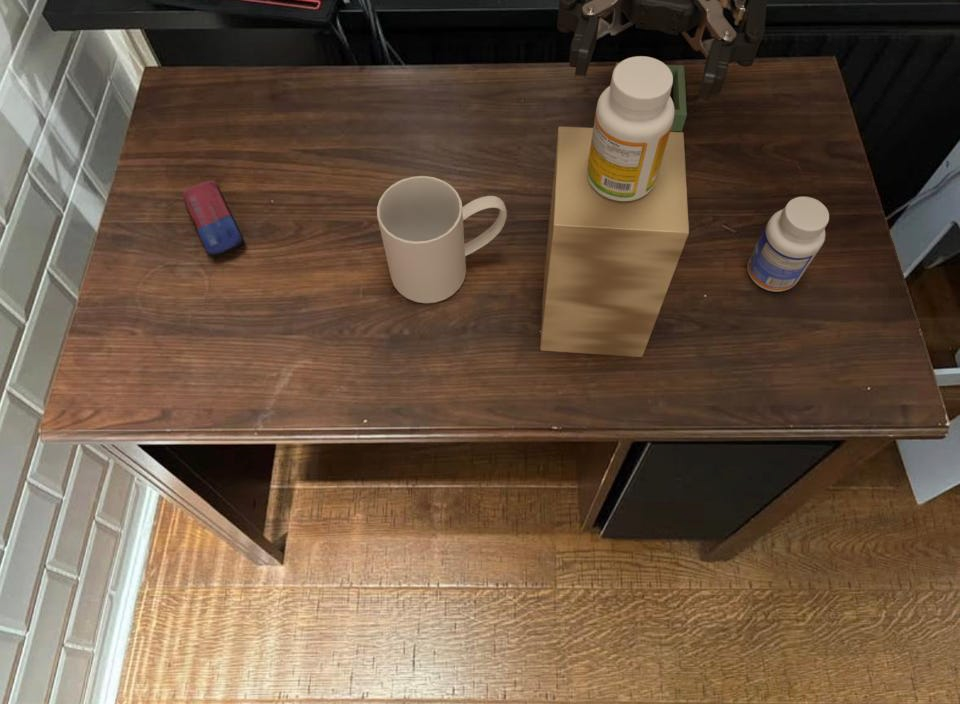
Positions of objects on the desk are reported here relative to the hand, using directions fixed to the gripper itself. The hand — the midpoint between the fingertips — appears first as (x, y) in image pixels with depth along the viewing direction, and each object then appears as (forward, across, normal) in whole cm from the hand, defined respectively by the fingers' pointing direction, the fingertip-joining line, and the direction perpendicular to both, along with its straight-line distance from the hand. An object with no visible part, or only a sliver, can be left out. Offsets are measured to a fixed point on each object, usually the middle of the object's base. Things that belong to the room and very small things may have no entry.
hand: (642, 78), depth 50 cm
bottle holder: (-28, 0, +29) cm, 40 cm away
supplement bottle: (+1, 0, +9) cm, 9 cm away
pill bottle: (-9, +17, +29) cm, 35 cm away
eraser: (+2, -42, +29) cm, 51 cm away
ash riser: (+1, 0, +29) cm, 29 cm away
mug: (0, -15, +29) cm, 33 cm away
